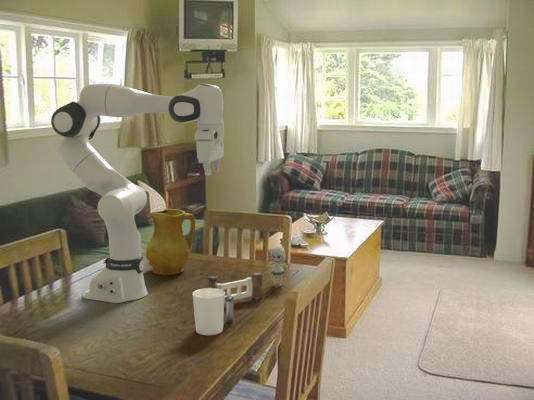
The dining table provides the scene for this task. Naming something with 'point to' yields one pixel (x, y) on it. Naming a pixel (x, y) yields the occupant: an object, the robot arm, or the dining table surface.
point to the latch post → (229, 309)
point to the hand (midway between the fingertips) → (212, 173)
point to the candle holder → (209, 310)
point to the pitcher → (169, 242)
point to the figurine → (278, 262)
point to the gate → (237, 284)
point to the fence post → (257, 285)
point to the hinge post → (212, 282)
